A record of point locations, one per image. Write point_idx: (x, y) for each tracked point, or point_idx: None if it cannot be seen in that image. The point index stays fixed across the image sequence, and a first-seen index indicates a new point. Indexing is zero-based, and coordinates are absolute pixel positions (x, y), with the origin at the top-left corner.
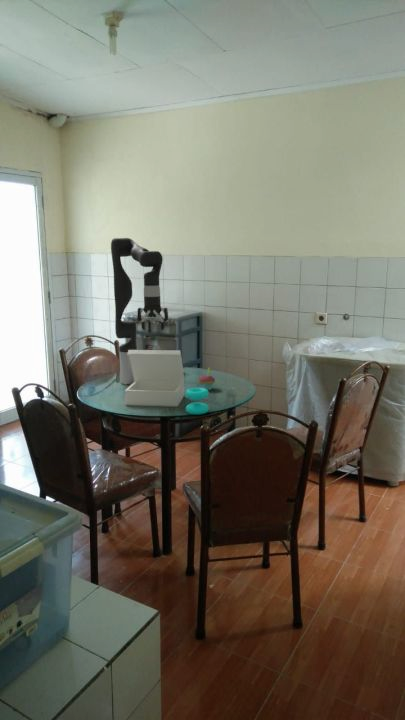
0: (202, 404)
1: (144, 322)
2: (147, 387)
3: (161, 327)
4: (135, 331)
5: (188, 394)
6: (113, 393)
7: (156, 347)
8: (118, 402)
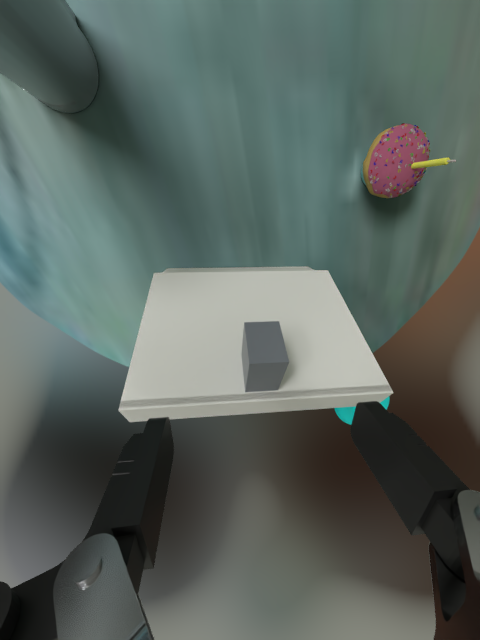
0: None
1: (152, 558)
2: None
3: (372, 462)
4: None
5: (342, 420)
6: (88, 254)
7: (269, 374)
8: None
